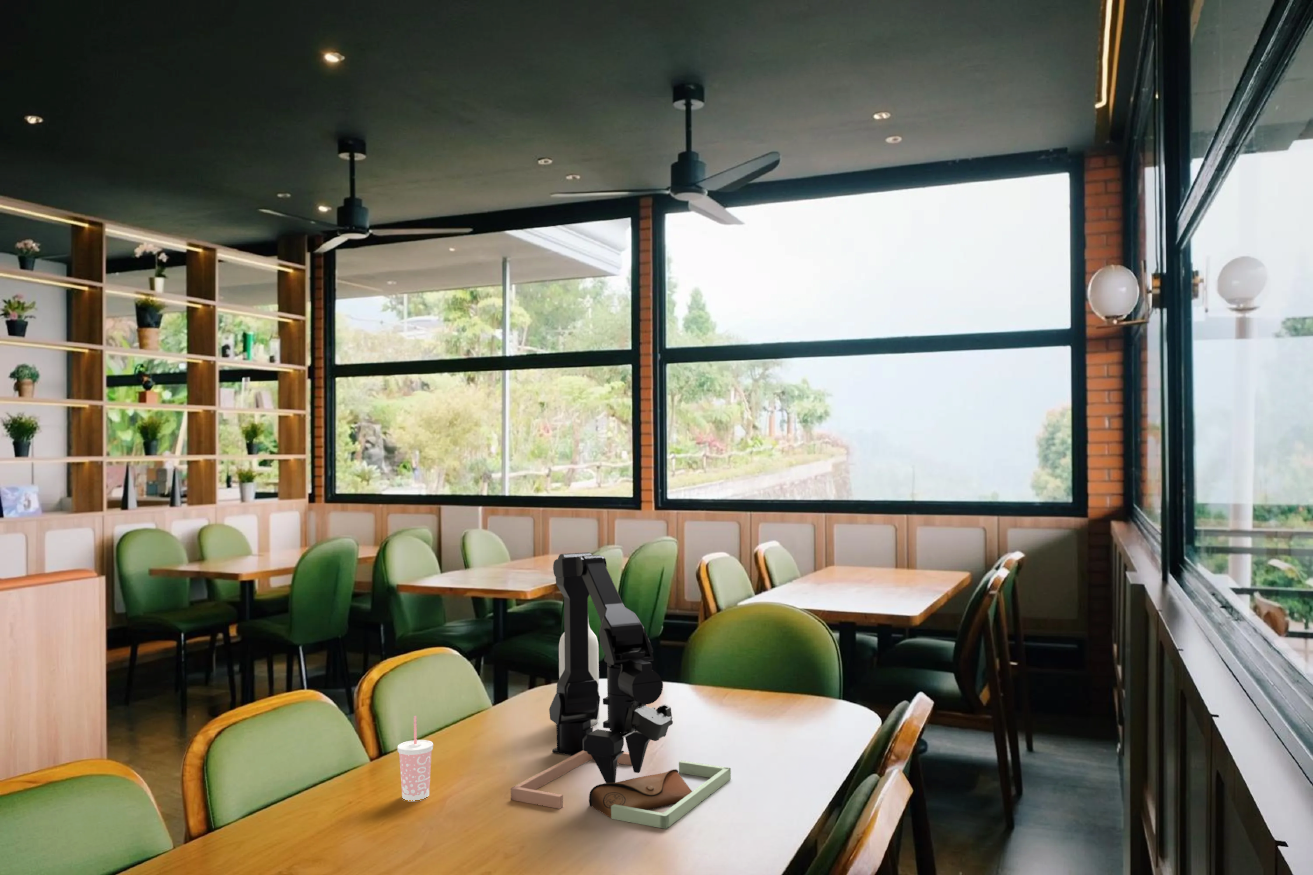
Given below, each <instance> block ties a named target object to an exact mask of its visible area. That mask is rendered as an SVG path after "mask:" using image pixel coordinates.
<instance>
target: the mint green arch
mask: <svg viewBox="0 0 1313 875" xmlns="http://www.w3.org/2000/svg"><path fill="white" fill-rule="evenodd" d="M678 773H679V774H682V775H683V774H685V775H691V776H698V777H705V778H709V779H707V780H706V781H705V782H704V783H702V784H701V785H700V786H698V787H696V788H695V789H694V790H691V791H692V792H691V793H690V794H688V795H687V796H686V797H684V798H683V799H682V800H680V801H679V802H677V803H676V804H674V805H671V807H669V808H668V809H666V810H665V811H663V812H659V811H654V810H644V809H638V808H632V807H627V806H621V805H616V804H614V805H612V806H611V817H610V818H611V819H612V820H616V821H617V820H618V821H622V822H627V823H628V822H629V823H633V824H637V825H641V826H642V825H643V826H648V827H655V828H660V829H665V830H666V829H668V828H669V827H670V826H672V825H673V824H674V823H676V822H677V821H679V819H680V820H681V818H682V817H684V816H685V815H686V814H687V813H689V812H690V811H691V810H692V809H694V808H695V807H696V806H698V805H699V804H701V803H702V802H703V801H704V800H706V799H707V798H708V797H709V796H711V795H712V794H713V793H715V792H716V791H717V790H718V789H719V788H721V787H723V785H726V783H728V782H729V781H730V780H732V779H731V778H732V775H731V773H732V771H731V767H727V766H721V765H713V764H707V763H700V762H694V761H686V760H680V761H678ZM710 794H711V795H710ZM701 801H702V802H701Z"/></svg>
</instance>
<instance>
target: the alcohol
mask: <svg viewBox="0 0 1313 875" xmlns="http://www.w3.org/2000/svg"><path fill="white" fill-rule="evenodd" d="M589 621H590V620H589V618H588V659H589V672H590V674H591V675H592V677H593V678H594V680H596V681H597V683H598V693H599V694H600V671H599V669H600V668H599V667H600V666H599V665H600V664H599V657H600V656H599V653H600V652H599V641H598V637H597V635H596V634H595V633H594V631H593V630H592V628H591V627H590V622H589ZM564 670H565V631H564V632H563V633H562V634H561V636H560V638H559V643H558V678H559V679H560V677H561V675H562V674H563V672H564ZM559 679H558V680H559ZM599 719H600V709H599V710H598V716H597V719H596V720H594V719H593V720H591V727H592V726H594V725H596V724H597V723H598V721H599Z"/></svg>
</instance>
